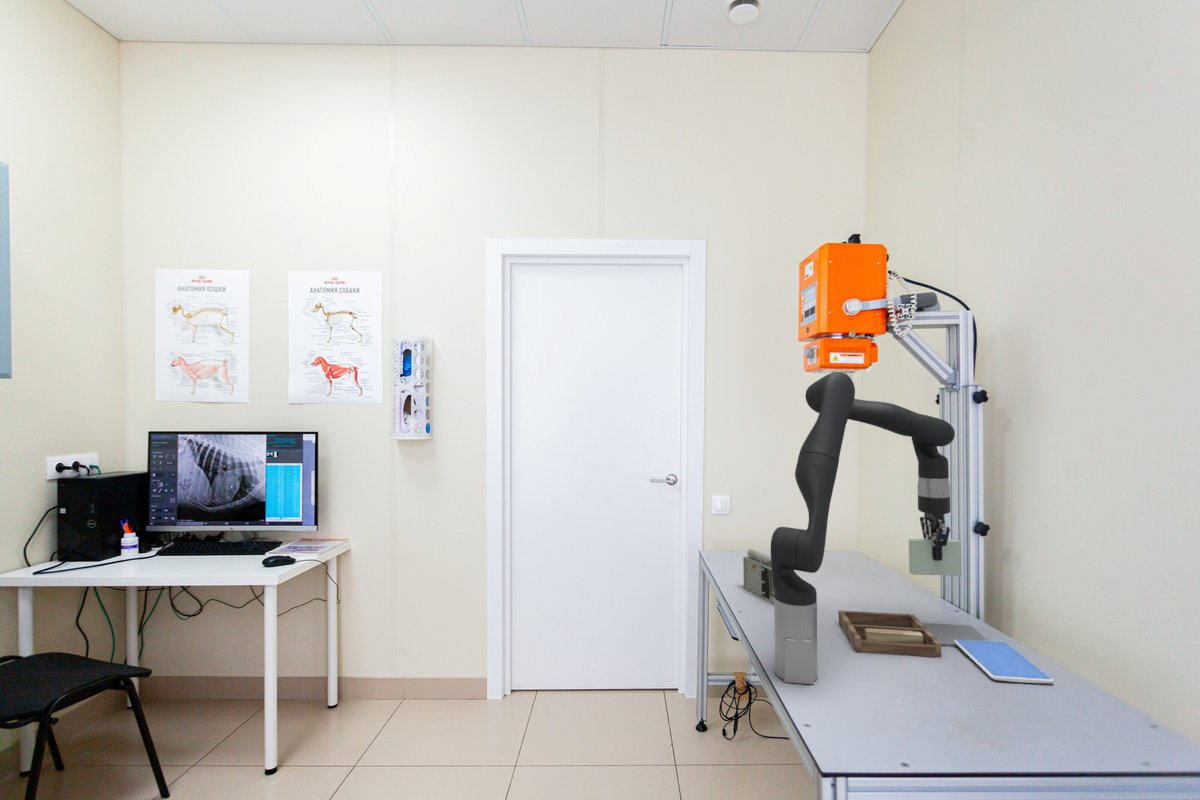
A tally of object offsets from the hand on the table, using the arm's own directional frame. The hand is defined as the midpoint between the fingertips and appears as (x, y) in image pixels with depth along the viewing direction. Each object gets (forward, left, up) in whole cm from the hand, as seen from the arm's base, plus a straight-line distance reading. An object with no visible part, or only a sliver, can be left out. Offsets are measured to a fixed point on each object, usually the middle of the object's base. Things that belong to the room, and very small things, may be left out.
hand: (934, 558), depth 152 cm
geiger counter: (+20, +40, -20) cm, 49 cm away
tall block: (0, 0, -4) cm, 4 cm away
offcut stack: (-11, +14, -20) cm, 27 cm away
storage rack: (-6, +14, -20) cm, 25 cm away
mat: (-1, -4, -20) cm, 20 cm away
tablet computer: (-17, -8, -20) cm, 27 cm away
